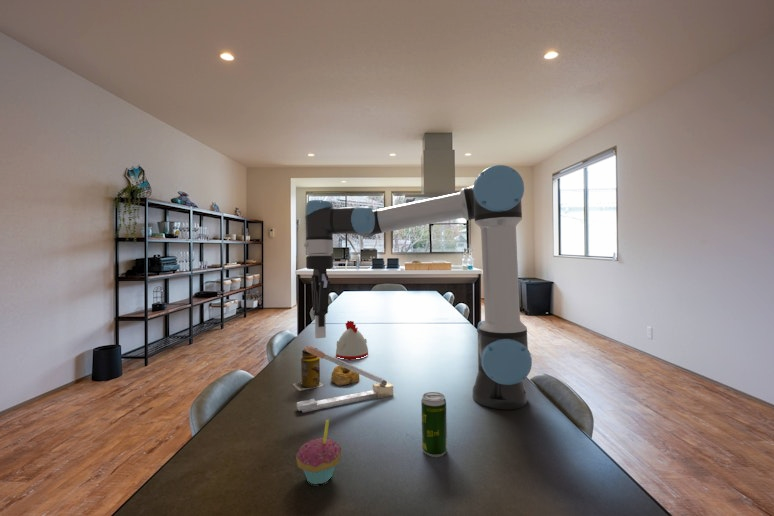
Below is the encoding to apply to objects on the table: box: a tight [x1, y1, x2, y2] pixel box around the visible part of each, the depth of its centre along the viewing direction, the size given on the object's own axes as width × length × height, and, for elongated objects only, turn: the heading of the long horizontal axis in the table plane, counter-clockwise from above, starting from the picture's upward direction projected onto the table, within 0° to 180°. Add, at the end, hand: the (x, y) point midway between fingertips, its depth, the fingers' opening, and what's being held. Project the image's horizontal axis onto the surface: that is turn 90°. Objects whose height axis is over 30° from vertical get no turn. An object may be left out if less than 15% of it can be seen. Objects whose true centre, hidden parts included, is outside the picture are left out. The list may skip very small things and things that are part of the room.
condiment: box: [292, 347, 325, 392], centre depth 118 cm, size 7×8×12 cm
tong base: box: [296, 381, 394, 413], centre depth 104 cm, size 4×28×3 cm, turn 115°
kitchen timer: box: [335, 320, 369, 359], centre depth 153 cm, size 14×14×15 cm
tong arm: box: [304, 344, 388, 386], centre depth 104 cm, size 3×27×2 cm, turn 115°
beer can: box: [420, 391, 448, 458], centre depth 77 cm, size 5×5×12 cm
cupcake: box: [295, 415, 342, 484], centre depth 68 cm, size 9×8×12 cm
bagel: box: [330, 365, 360, 386], centre depth 122 cm, size 10×11×5 cm
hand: (320, 337), depth 101 cm, fingers closed
